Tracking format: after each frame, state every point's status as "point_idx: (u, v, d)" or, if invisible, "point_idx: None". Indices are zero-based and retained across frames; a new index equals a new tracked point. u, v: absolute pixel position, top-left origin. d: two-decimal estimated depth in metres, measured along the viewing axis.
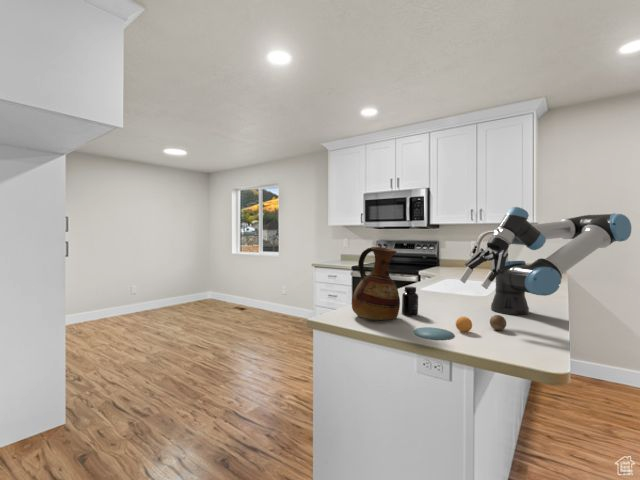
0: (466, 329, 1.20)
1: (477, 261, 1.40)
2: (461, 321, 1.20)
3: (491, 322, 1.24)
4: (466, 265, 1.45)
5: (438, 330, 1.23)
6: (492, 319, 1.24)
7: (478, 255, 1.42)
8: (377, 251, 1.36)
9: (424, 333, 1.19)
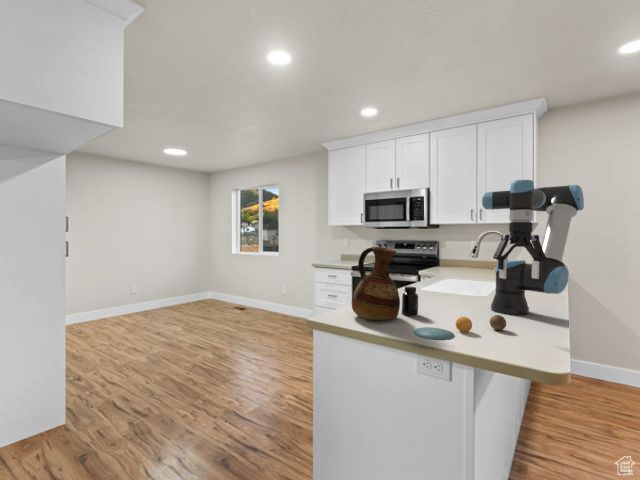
0: (466, 329, 1.20)
1: None
2: (461, 321, 1.20)
3: (491, 322, 1.24)
4: (498, 258, 1.24)
5: (438, 330, 1.23)
6: (492, 319, 1.24)
7: None
8: (377, 251, 1.36)
9: (424, 333, 1.19)
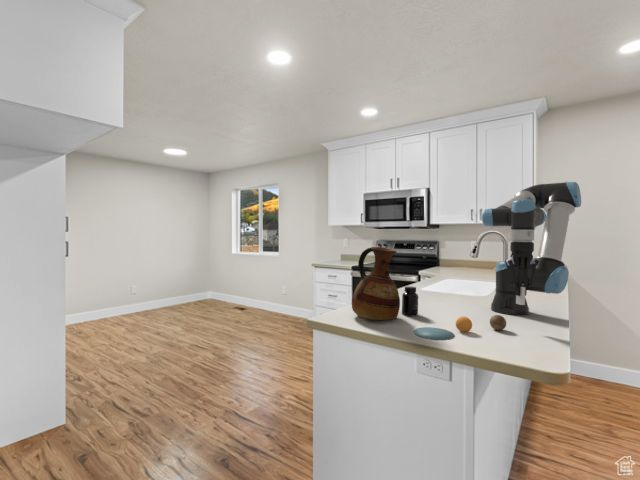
0: (466, 329, 1.20)
1: None
2: (461, 321, 1.20)
3: (491, 322, 1.24)
4: None
5: (438, 330, 1.23)
6: (492, 319, 1.24)
7: None
8: (377, 251, 1.36)
9: (424, 333, 1.19)
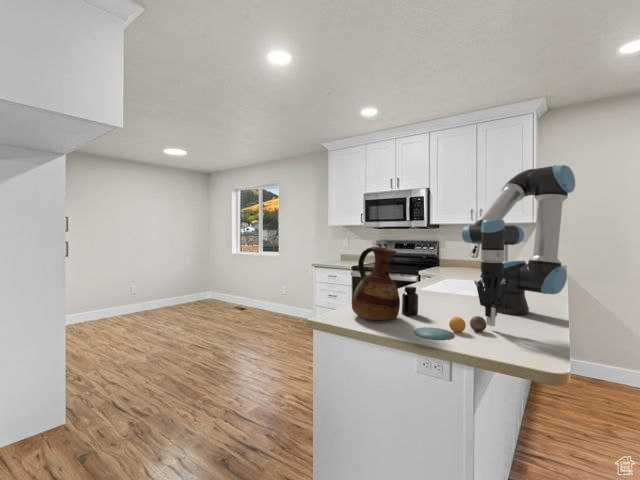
0: (462, 329, 1.19)
1: None
2: (453, 328, 1.20)
3: None
4: None
5: (438, 330, 1.23)
6: None
7: None
8: (377, 251, 1.36)
9: (424, 333, 1.19)
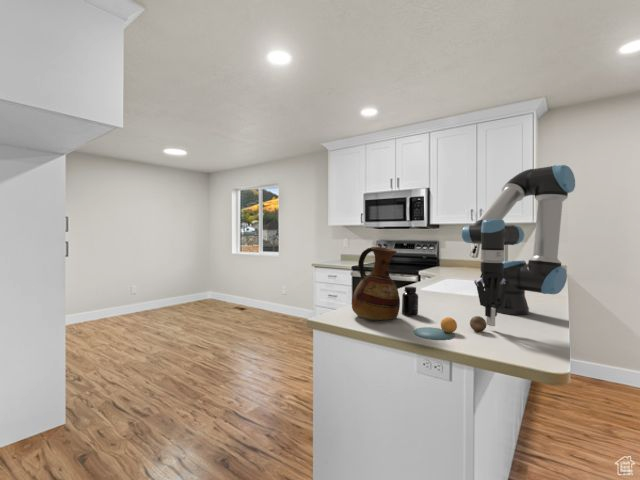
0: (455, 326, 1.19)
1: None
2: (450, 332, 1.20)
3: None
4: None
5: (438, 330, 1.23)
6: None
7: None
8: (377, 251, 1.36)
9: (424, 333, 1.19)
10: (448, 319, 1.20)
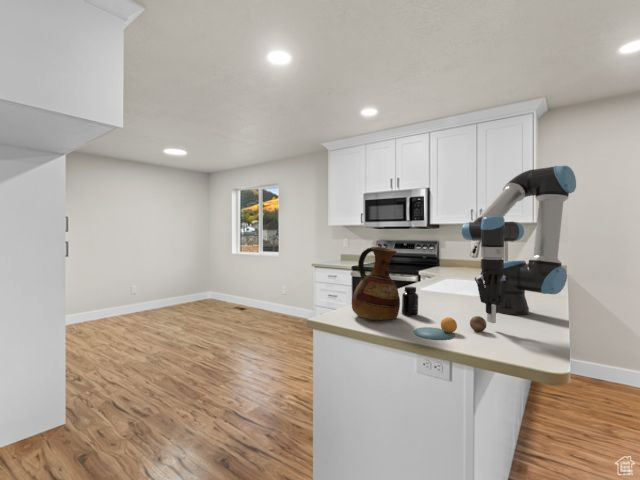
0: (455, 326, 1.19)
1: None
2: (450, 332, 1.20)
3: None
4: None
5: (438, 330, 1.23)
6: None
7: None
8: (377, 251, 1.36)
9: (424, 333, 1.19)
10: (448, 319, 1.20)
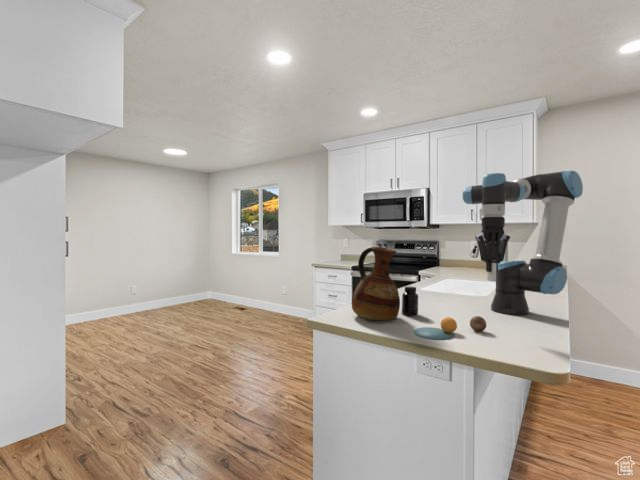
0: (455, 326, 1.19)
1: None
2: (450, 332, 1.20)
3: None
4: None
5: (438, 330, 1.23)
6: None
7: None
8: (377, 251, 1.36)
9: (424, 333, 1.19)
10: (448, 319, 1.20)
